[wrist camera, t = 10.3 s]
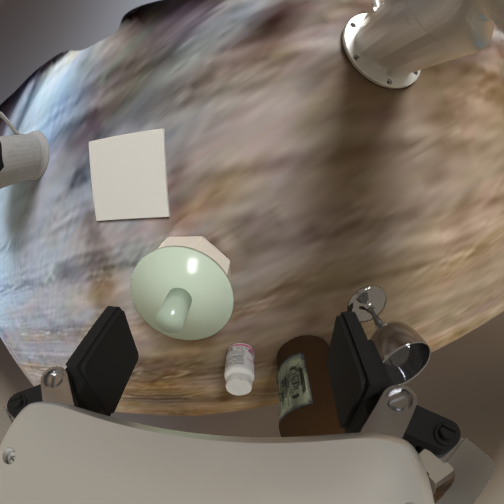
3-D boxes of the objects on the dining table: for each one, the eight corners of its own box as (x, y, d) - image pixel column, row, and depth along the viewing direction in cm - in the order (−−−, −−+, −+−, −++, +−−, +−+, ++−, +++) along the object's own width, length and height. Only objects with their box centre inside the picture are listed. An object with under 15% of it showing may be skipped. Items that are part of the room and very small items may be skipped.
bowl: (145, 236, 37) (129, 251, 32) (229, 234, 37) (224, 250, 31) (158, 308, 42) (146, 330, 36) (232, 310, 42) (230, 334, 36)
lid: (124, 246, 31) (102, 265, 26) (231, 244, 31) (226, 265, 26) (144, 333, 36) (131, 359, 31) (236, 337, 36) (233, 367, 31)
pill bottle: (257, 358, 45) (257, 395, 38) (231, 363, 46) (228, 398, 38) (250, 339, 44) (250, 376, 36) (223, 344, 44) (218, 380, 36)
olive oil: (344, 345, 44) (387, 466, 21) (308, 380, 48) (328, 495, 25) (297, 322, 42) (326, 465, 19) (262, 362, 46) (265, 492, 23)
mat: (90, 141, 32) (88, 141, 31) (164, 128, 32) (163, 128, 31) (98, 219, 36) (96, 220, 36) (169, 215, 36) (168, 216, 36)
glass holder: (25, 187, 34) (-36, 210, 20) (12, 118, 29) (-47, 124, 15) (54, 169, 33) (-14, 188, 19) (41, 94, 28) (-23, 91, 14)
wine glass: (349, 330, 43) (377, 395, 29) (340, 294, 40) (373, 360, 27) (390, 313, 42) (428, 371, 28) (385, 276, 39) (432, 332, 25)
